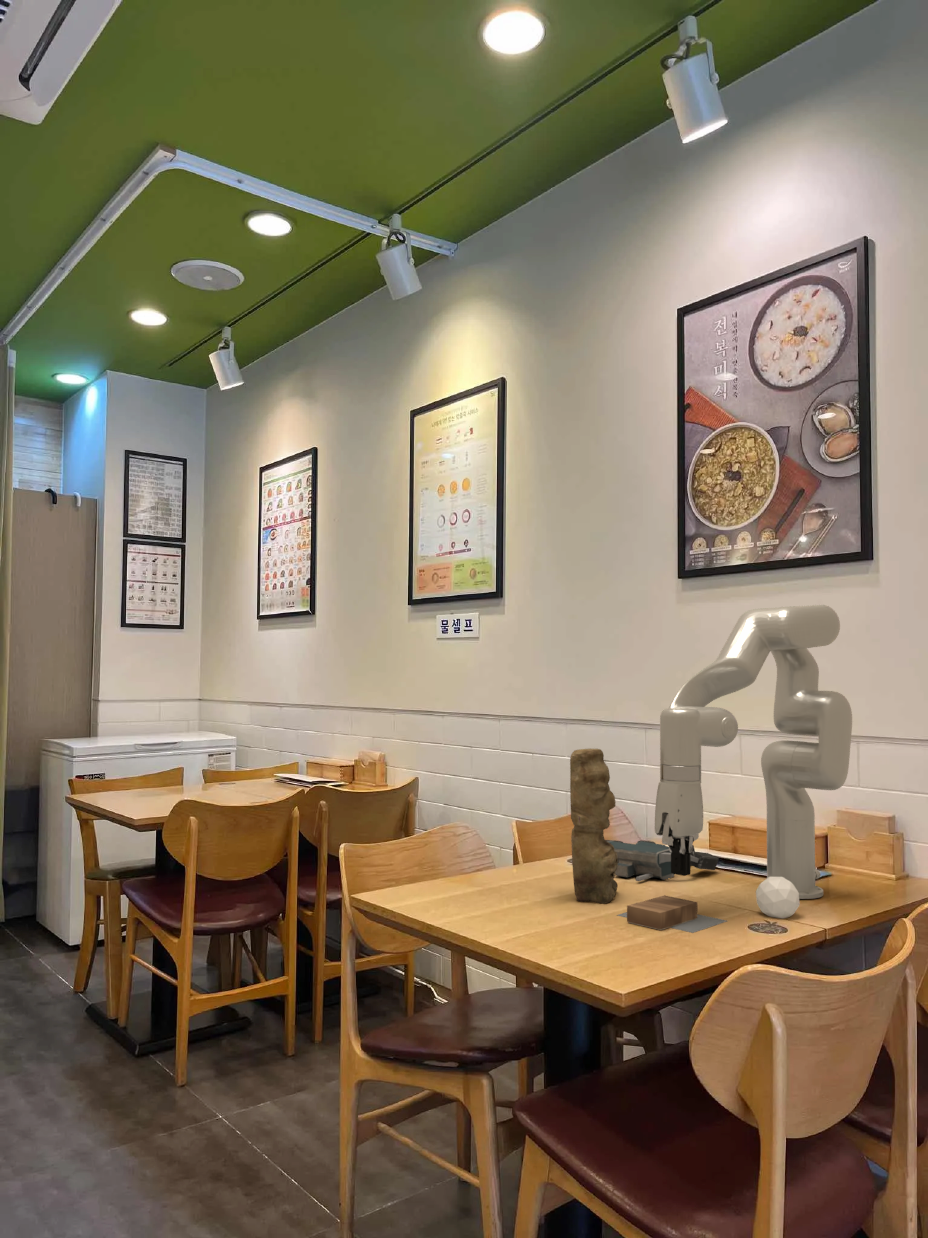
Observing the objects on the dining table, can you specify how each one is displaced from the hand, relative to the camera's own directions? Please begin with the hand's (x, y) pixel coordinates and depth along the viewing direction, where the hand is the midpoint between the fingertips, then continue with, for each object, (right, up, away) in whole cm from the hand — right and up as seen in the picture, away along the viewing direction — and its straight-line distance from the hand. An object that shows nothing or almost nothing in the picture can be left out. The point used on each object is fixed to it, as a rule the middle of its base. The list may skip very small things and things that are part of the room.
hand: (680, 874), depth 171 cm
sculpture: (-14, -9, +14) cm, 22 cm away
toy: (+3, -12, +44) cm, 45 cm away
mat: (-2, -8, -3) cm, 9 cm away
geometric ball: (+18, -9, +1) cm, 20 cm away
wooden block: (0, -6, 0) cm, 6 cm away
